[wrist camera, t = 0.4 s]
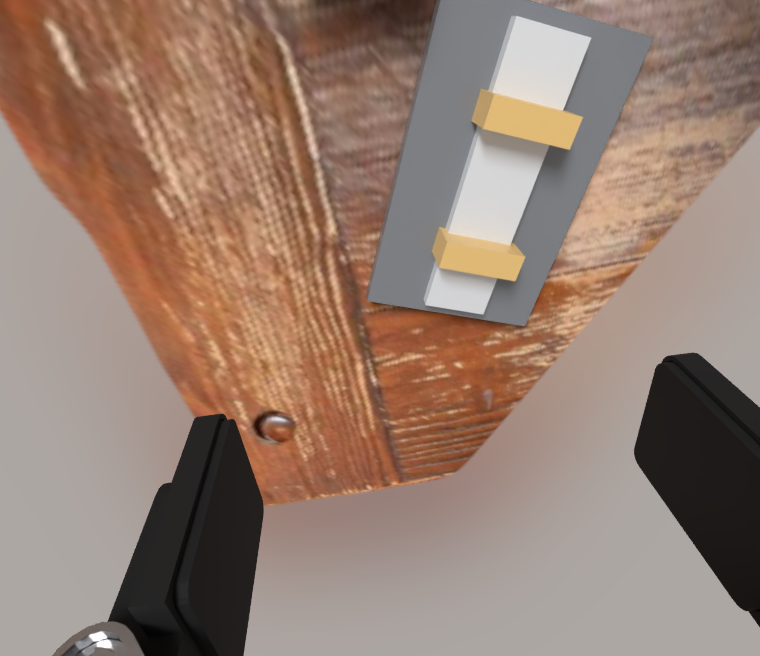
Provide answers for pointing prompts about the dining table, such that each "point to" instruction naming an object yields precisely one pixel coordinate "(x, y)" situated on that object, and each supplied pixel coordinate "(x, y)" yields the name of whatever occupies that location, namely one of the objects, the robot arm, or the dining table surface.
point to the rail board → (498, 154)
